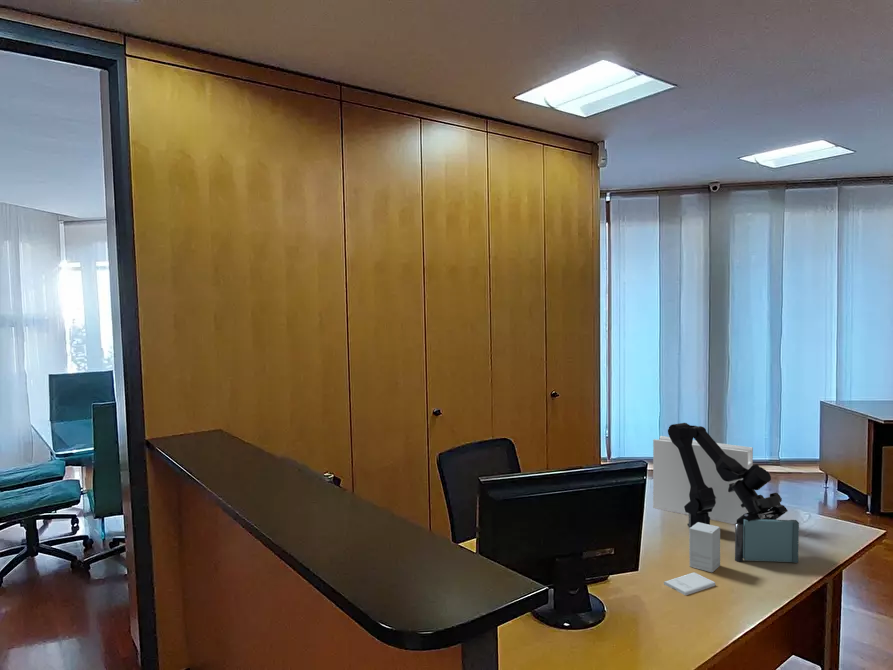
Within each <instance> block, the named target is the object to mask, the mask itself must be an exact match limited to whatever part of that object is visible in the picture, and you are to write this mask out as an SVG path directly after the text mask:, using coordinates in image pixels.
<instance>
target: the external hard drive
mask: <svg viewBox="0 0 893 670" xmlns="http://www.w3.org/2000/svg"><path fill="white" fill-rule="evenodd" d="M663 585H664V586H666V587H668V588H669V589H670V588H671V589H673V590H675V591H676V592H678V593H680V594H682V595H684V596H688V595H691V594H695V593H698V592H700V591H703V590H706V589H710V588H713V587H715V586H716V582H715V581H713V580H711V579H709V578H707V577H705V576H702V575H701V574H699V573H697V572H695V571H693V572H691V573H690V572H689V573H687V574H685V575H681V576H678V577H675V578H672V579H669V580H665V581H663Z"/></svg>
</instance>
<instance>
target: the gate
mask: <svg viewBox="0 0 893 670" xmlns="http://www.w3.org/2000/svg"><path fill="white" fill-rule="evenodd" d="M799 531H800V522H799V521H798V520H796V519H776V520H767V519H755V520H752V521H749V522H748V520H745V519H744V526H743V561H756V562H757V561H758V562H764V561H765V562H780V563H781V562H787V563H798V564H799V542H800V541H799V540H800V538H799V535H800V534H799V533H800V532H799Z"/></svg>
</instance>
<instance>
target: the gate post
mask: <svg viewBox="0 0 893 670" xmlns="http://www.w3.org/2000/svg"><path fill="white" fill-rule="evenodd" d="M734 531H735V532H734V561H735V562H738V563H743V562H744V559H743V524H742V523H735V524H734Z"/></svg>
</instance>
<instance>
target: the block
mask: <svg viewBox="0 0 893 670" xmlns="http://www.w3.org/2000/svg"><path fill="white" fill-rule="evenodd" d="M652 441H653V443H652V447H653V450H652V451H653V452H652V453H653V457H652V458H653V459H652V464H653V465H652V467H653V469H652V471H653V472H652V473H653V475H652V478H653V479H652V482H653V483H652V484H653V486H652V489H653V491H652V494H653V495H652V503H653V504H652V508H653V509H657V510H661V511H667V512H672V513H677V514H682V515H687V516H689V513H687V512H685V508H684V506H685V505H686V504H687V503H689V502H690V497H689V493H690V488H691V486H690V483H689V480H688V477H687V474H686V471H685V468H684V464H683V461H682V458H681V455H680V452H679V449H678V448H677V447H676V446H675V445H674V444H673V443H672V441H671V439H670V437H669V436H664V435H660V436H659V439H656V438H655V439H654V438H653V440H652ZM716 443H717V444H718V446H719V447H720V448H721V449H722V450H723V451H724V453H725V454H726V455H728V456H729V457H731V458H733V459H735V460H736V461H737V462H738V463H740V464H741V465H742V466H743V467H744V468H746V469H748V470H749V469H750V468H751V466H752V465H754V463H753V458H754V457H753V456H754V455H753V454H754V448H753V447H751V446H744V445H735V444H729V443H728V444H727V443H721V442H716ZM692 447H693V450H694V453H695V457H696V460H697V463H698V466H699V469H700V472H701V475H702V478H703V481H704V483H705V485H706V486H707V487H708V488H710V487H712V489H713V492H714V495H715V497H716V499H715V500H716V504H715V506H714V507H713V509H712V512H708V516H709V517H710V521H716V522H722V523H726V524H730V525H731V524H732V525H735V523H737V519H738V518H740V517H741V516H742V515H744V514H745V513H749V512H748V511H747V509H746V508H745V507H744V508H742V507H741V504H743V503H742V502H741V500H740V499H739V497H738V496H737V494H736V493H735V491H733V492H728V488H729V484H732V483H735V482H737V481H738V480H734V481H729V482H728V481H724V480H723V479H722V478H721V477H720V475H719V473H718V472H717V470H716V465H715V463H714V461H713V460H712V459H711V458H710V457H709V456H708V454H707V453H706V452H705V451H704V450H703V448H702V447H701V446H700V445H699V444H698V442H697V441H696V440H695V439H693V442H692ZM739 480H743V478H742V479H739Z"/></svg>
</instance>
